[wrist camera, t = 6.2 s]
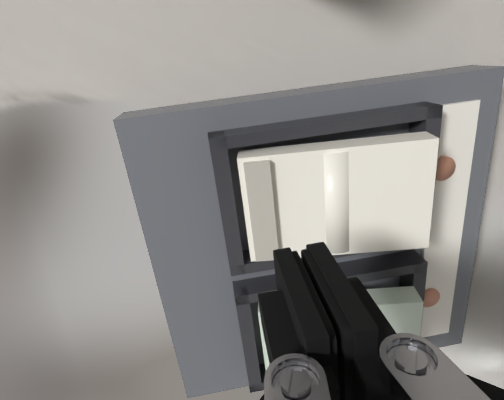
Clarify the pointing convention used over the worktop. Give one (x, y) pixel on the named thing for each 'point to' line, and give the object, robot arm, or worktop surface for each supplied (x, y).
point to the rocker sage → (387, 311)
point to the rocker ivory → (340, 194)
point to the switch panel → (233, 219)
